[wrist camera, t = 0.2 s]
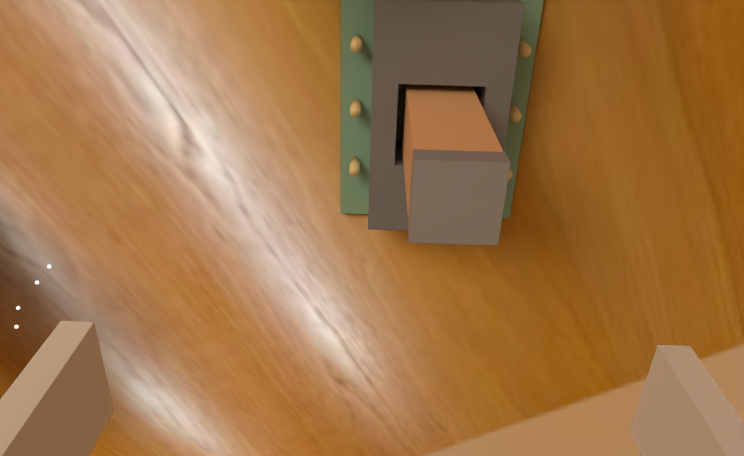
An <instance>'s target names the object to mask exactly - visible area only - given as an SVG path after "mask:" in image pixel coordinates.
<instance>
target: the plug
mask: <svg viewBox="0 0 744 456" xmlns="http://www.w3.org/2000/svg"><path fill="white" fill-rule="evenodd" d="M401 139H402V151H403V163H404V176H405V188H406V200H407V213H408V240H409V243H434V244H467V245H498V243H499V236H500V229H501V223H502V216H503V209H504V203H505V196H506V189H507V183H508V176H509V169H510V160H509V158H508V156H507V154H506V152H503V150H502V147H501V145H500V143H499V141H498V139H497V137H496V135H495V133H494V131H493V128H492V126H491V124H490V122H489V120H488V118H487V116H486V114H485V111H484V109H483V107H482V105H481V103H480V101H479V99H478V97H477V95H476V92H475V90H474V88H473V86H449V85H417V84H404V92H403V110H402V129H401Z"/></svg>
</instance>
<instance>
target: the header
mask: <svg viewBox="0 0 744 456" xmlns="http://www.w3.org/2000/svg"><path fill="white" fill-rule="evenodd" d="M543 1H544V0H341V213H347V214H368V229H374V230H407V231H408V213H407V200H406V188H405V176H404V163H403V151H402V139H401V129H402V110H403V92H404V84H417V85H449V86H473V88H474V90H475V92H476V95H477V97H478V99H479V101H480V103H481V105H482V107H483V109H484V111H485V114H486V116H487V118H488V120H489V122H490V124H491V126H492V128H493V131H494V133H495V135H496V137H497V139H498V141H499V143H500V145H501V147H502V150H503V152H506V154H507V156H508V158H509V160H510V169H509V176H508V183H507V189H506V196H505V203H504V209H503V216H502V218H510V212H511V206H512V199H513V193H514V187H515V180H516V174H517V168H518V161H519V155H520V148H521V142H522V136H523V129H524V123H525V116H526V110H527V104H528V97H529V91H530V85H531V78H532V72H533V65H534V59H535V53H536V46H537V40H538V33H539V27H540V21H541V14H542V8H543Z"/></svg>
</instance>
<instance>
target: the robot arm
mask: <svg viewBox="0 0 744 456" xmlns="http://www.w3.org/2000/svg"><path fill="white" fill-rule="evenodd" d="M113 410H114V409H113V405H112V400H111V396H110V391H109V387H108V382H107V378H106V374H105V369H104V365H103V360H102V356H101V351H100V347H99V342H98V338H97V333H96V329H95V324H94V322H80V321H60V323H59V324H58V325H57V326H56V328H55V329H54V330H53V332H52V333H51V334H50V336H49V337H48V338H47V339H46V341H45V342H44V343H43V345H42V346H41V347H40V349H39V350H38V351H37V352H36V354H35V355H34V356H33V358H32V359H31V360H30V362H29V363H28V364H27V365H26V367H25V368H24V369H23V371H22V372H21V373H20V375H19V376H18V377H17V378H16V380H15V381H14V382H13V384H12V385H11V386H10V388H9V389H8V390H7V391H6V393H5V394H4V395H3V397H2V398H1V399H0V456H89V455H90V453H91V451H92V449H93V447H94V446H95V444H96V442H97V440H98V438H99V436H100V434H101V432H102V430H103V429H104V427H105V425H106V423H107V421H108V419H109V417H110V415H111V413H112V412H113ZM629 431H630V433H631V435H632V437H633V439H634V441H635V443H636V445H637V448H638V450H639V452H640V454H641V456H744V422H743V421H742V419H741V418H740V416H739V415H738V414H737V412H736V411H735V409H734V408H733V406H732V405H731V404H730V402H729V401H728V399H727V398H726V396H725V395H724V394H723V392H722V391H721V389H720V388H719V386H718V385H717V384H716V382H715V381H714V379H713V378H712V376H711V375H710V374H709V372H708V371H707V369H706V368H705V366H704V365H703V363H702V362H701V361H700V359H699V358H698V356H697V355H696V353H695V352H694V351H693V349H692V348H691V346H673V345H658V346H657V349H656V352H655V355H654V358H653V360H652V363H651V366H650V369H649V372H648V375H647V378H646V381H645V384H644V387H643V390H642V393H641V396H640V399H639V402H638V405H637V408H636V411H635V414H634V417H633V420H632V423H631V426H630V429H629Z"/></svg>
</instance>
